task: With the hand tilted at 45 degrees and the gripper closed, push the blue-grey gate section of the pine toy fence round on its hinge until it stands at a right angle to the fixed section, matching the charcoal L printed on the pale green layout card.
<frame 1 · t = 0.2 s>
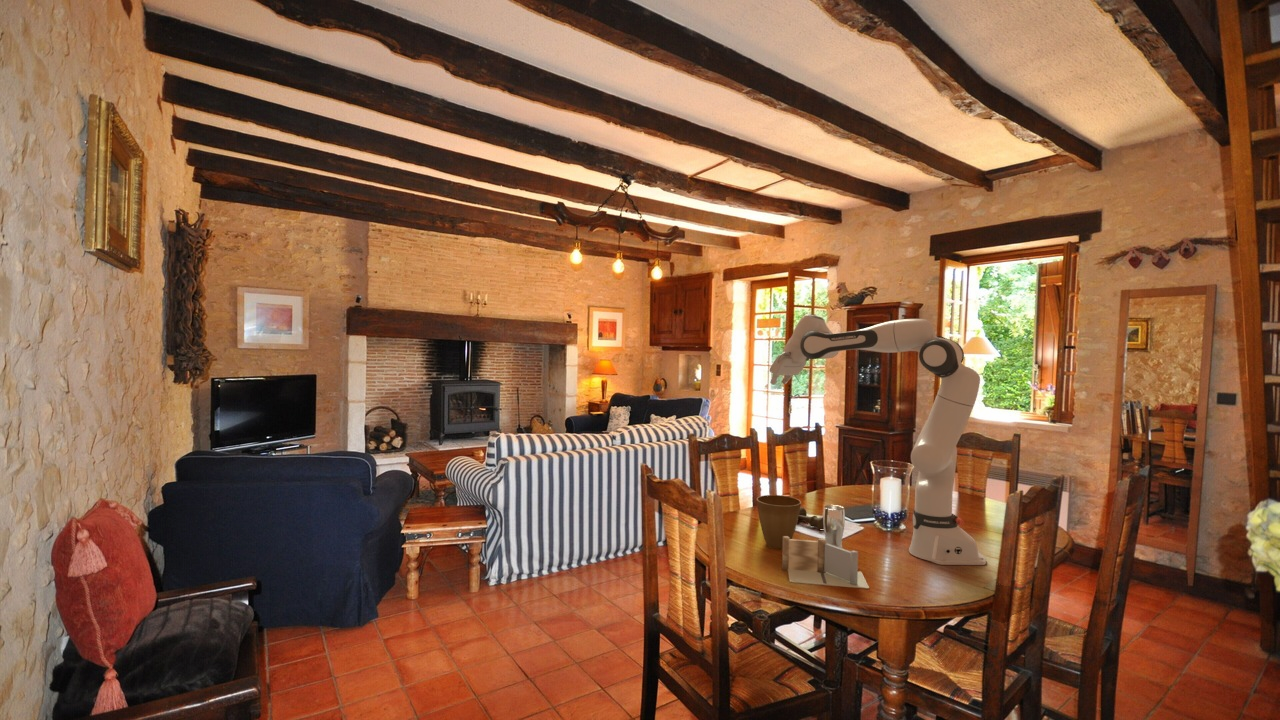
hand: (778, 383, 228), 54 cm above the table, tool tilted 30°, fingers open, 8 cm apart
fence gate: (841, 562, 173), point 5 cm above the table, hinge at 45.0°
kendama: (801, 525, 226), on the table
beer glass: (833, 552, 196), on the table
fence fixed section: (821, 571, 179), resting on layout card
layout card: (826, 577, 175), on the table
plant pot: (778, 546, 202), on the table
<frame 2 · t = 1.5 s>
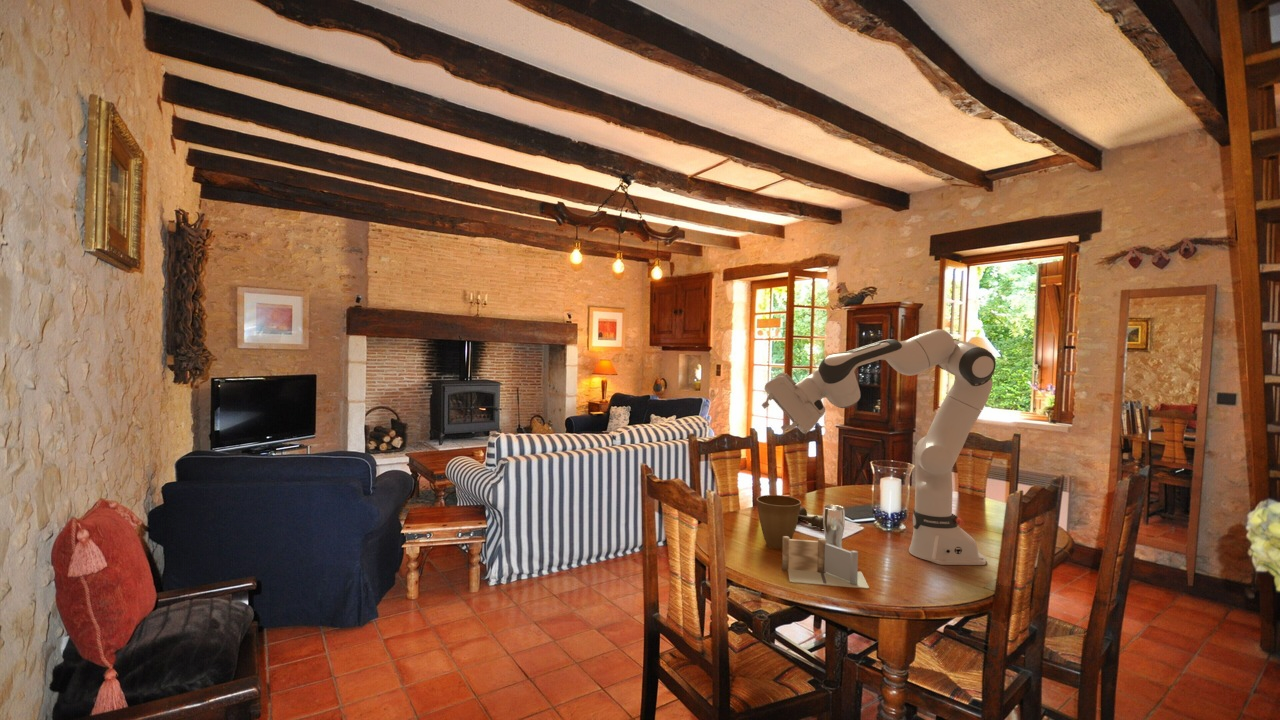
hand: (772, 417, 188), 46 cm above the table, tool tilted 55°, fingers open, 8 cm apart
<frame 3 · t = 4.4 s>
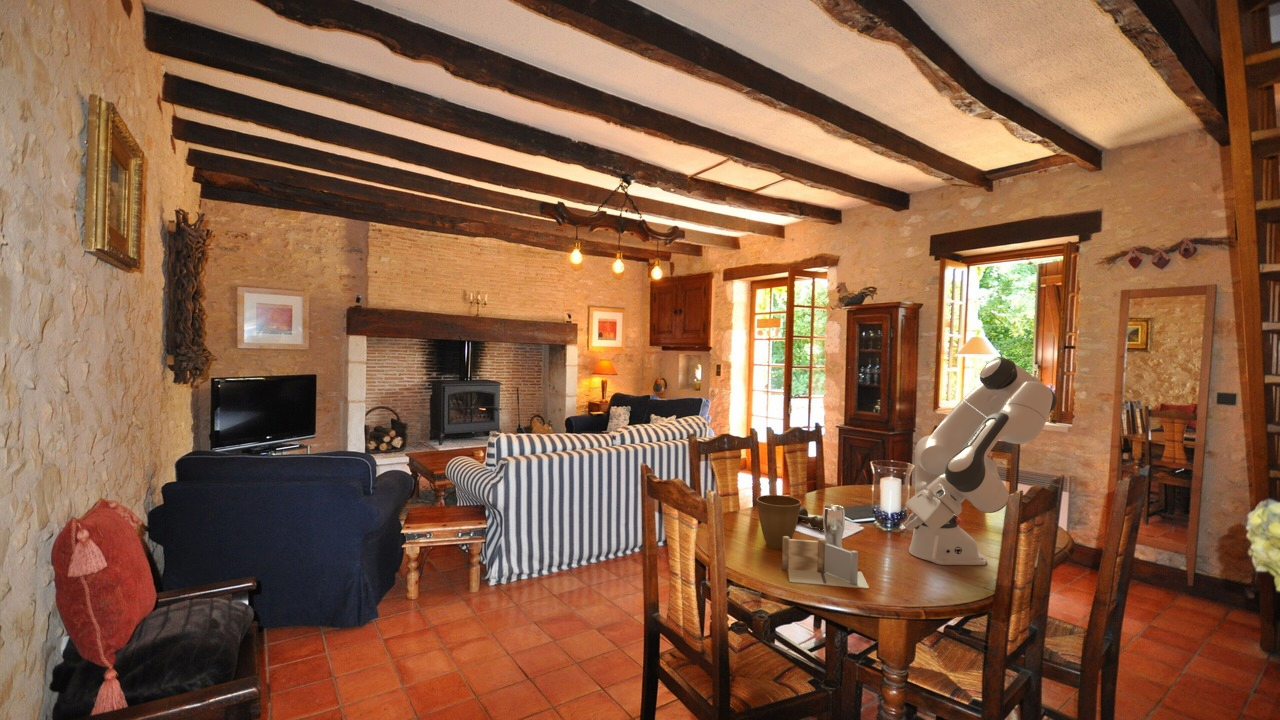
hand: (906, 527, 169), 17 cm above the table, tool tilted 45°, fingers closed
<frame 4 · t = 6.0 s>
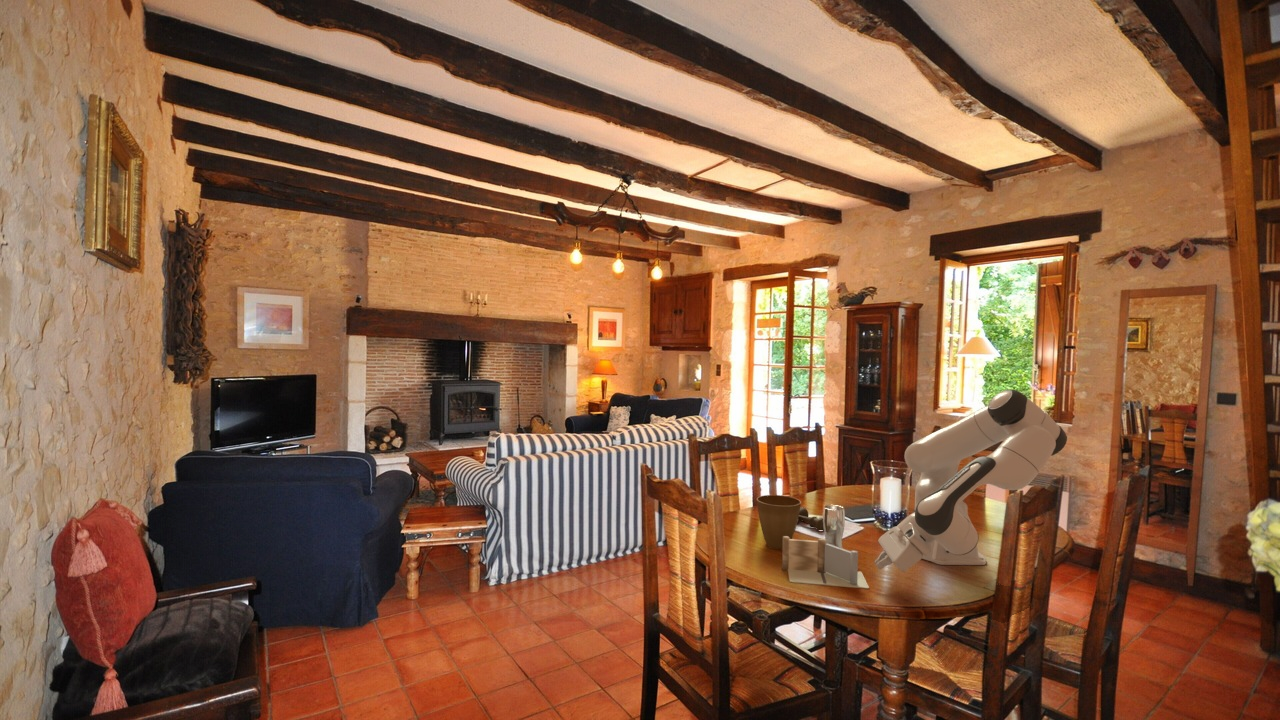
hand: (876, 566, 168), 6 cm above the table, tool tilted 45°, fingers closed
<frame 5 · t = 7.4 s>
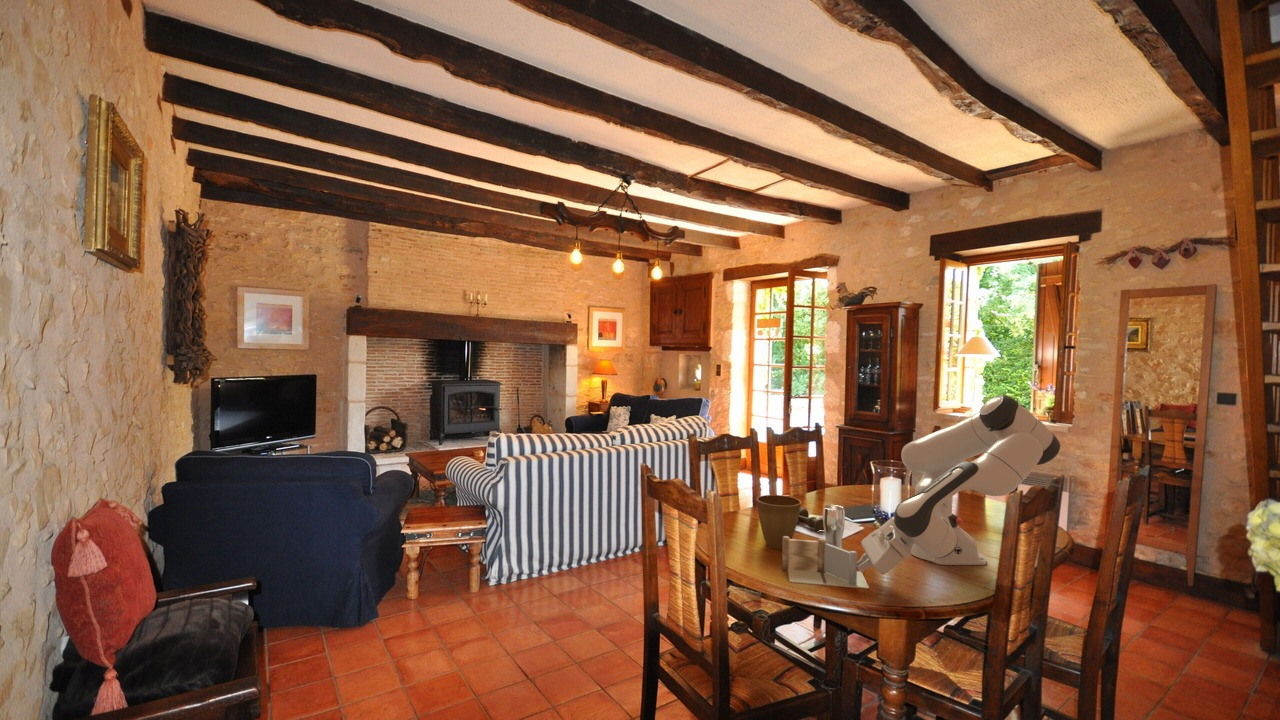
hand: (858, 568, 169), 5 cm above the table, tool tilted 45°, fingers closed
fence gate: (840, 562, 173), point 5 cm above the table, hinge at 42.9°, touching gripper
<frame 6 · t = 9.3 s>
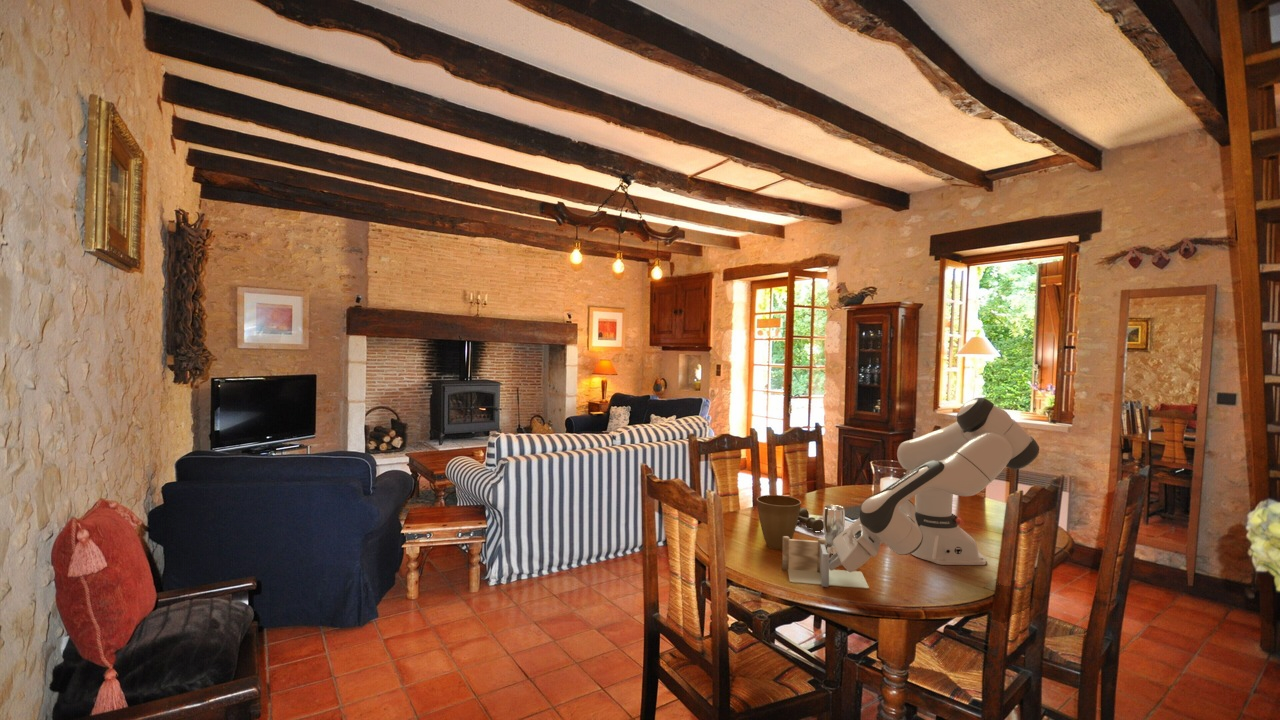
hand: (828, 566, 171), 5 cm above the table, tool tilted 45°, fingers closed, pressing on fence gate
fence gate: (823, 563, 172), point 5 cm above the table, hinge at -1.2°, touching gripper
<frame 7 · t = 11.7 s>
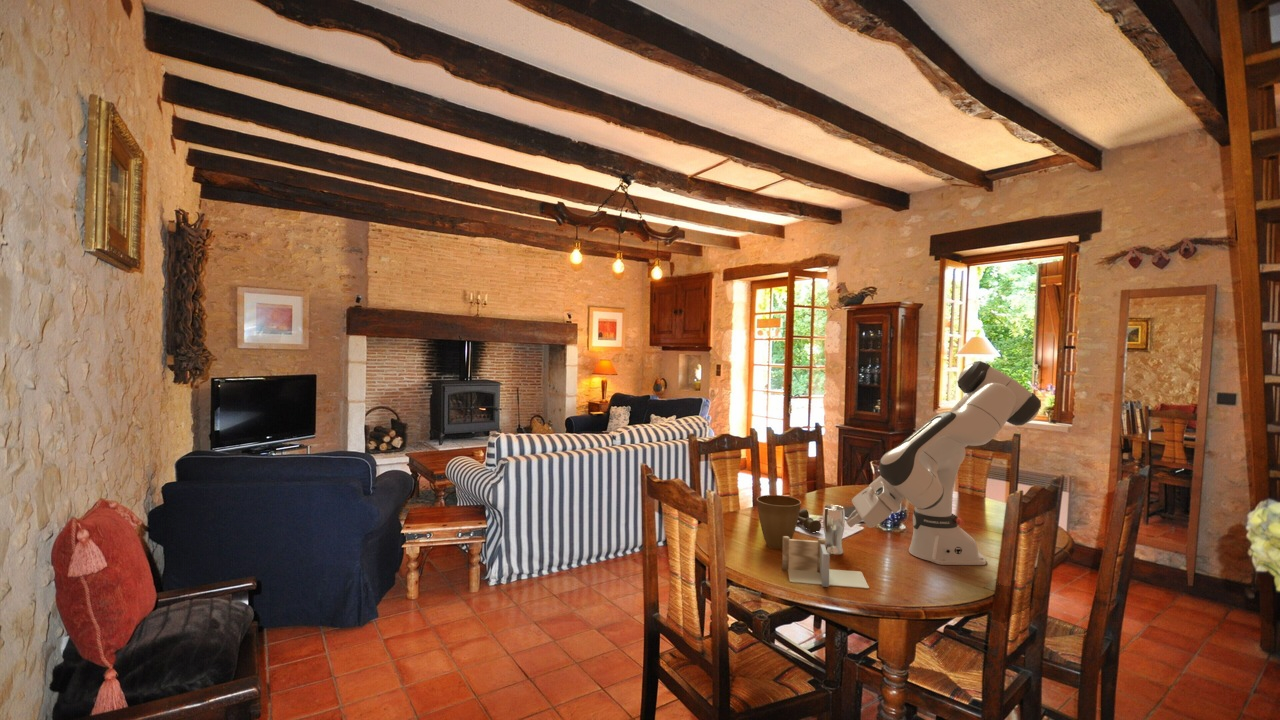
hand: (847, 524, 170), 17 cm above the table, tool tilted 45°, fingers closed
fence gate: (824, 563, 172), point 5 cm above the table, hinge at -0.8°
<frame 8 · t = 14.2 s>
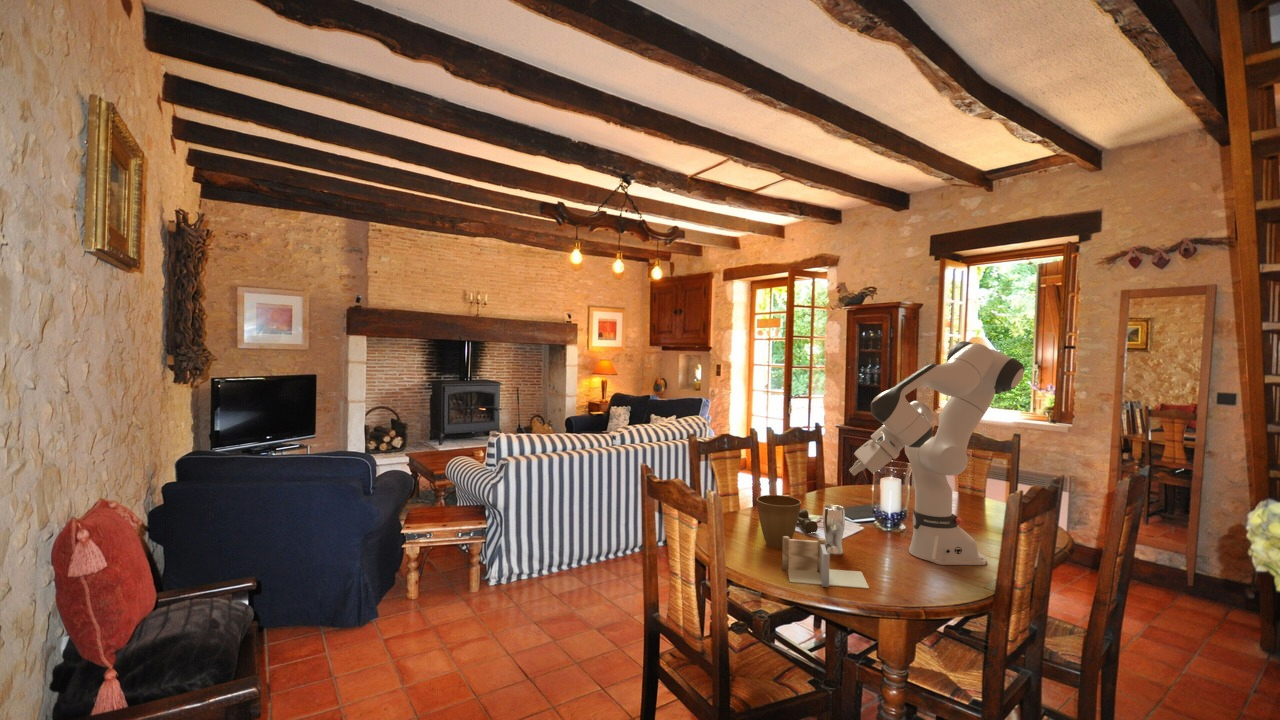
hand: (851, 473, 183), 29 cm above the table, tool tilted 45°, fingers closed
at the end: fence gate at -1° (first picture: +45°) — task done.
